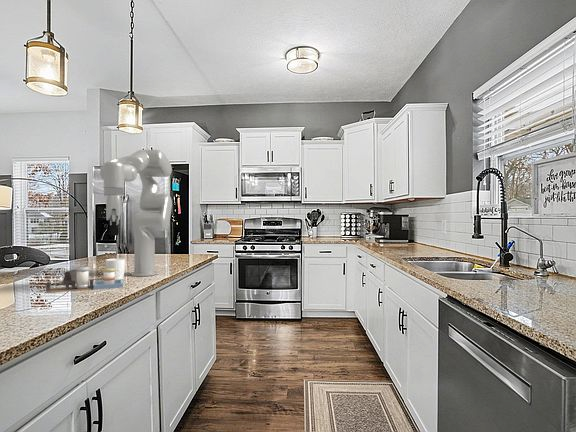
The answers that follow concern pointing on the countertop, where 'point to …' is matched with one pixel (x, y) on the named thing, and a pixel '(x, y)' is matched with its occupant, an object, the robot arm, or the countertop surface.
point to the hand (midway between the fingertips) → (114, 234)
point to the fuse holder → (66, 287)
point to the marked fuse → (109, 275)
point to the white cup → (117, 266)
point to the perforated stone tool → (70, 276)
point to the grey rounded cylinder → (82, 277)
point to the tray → (108, 285)
